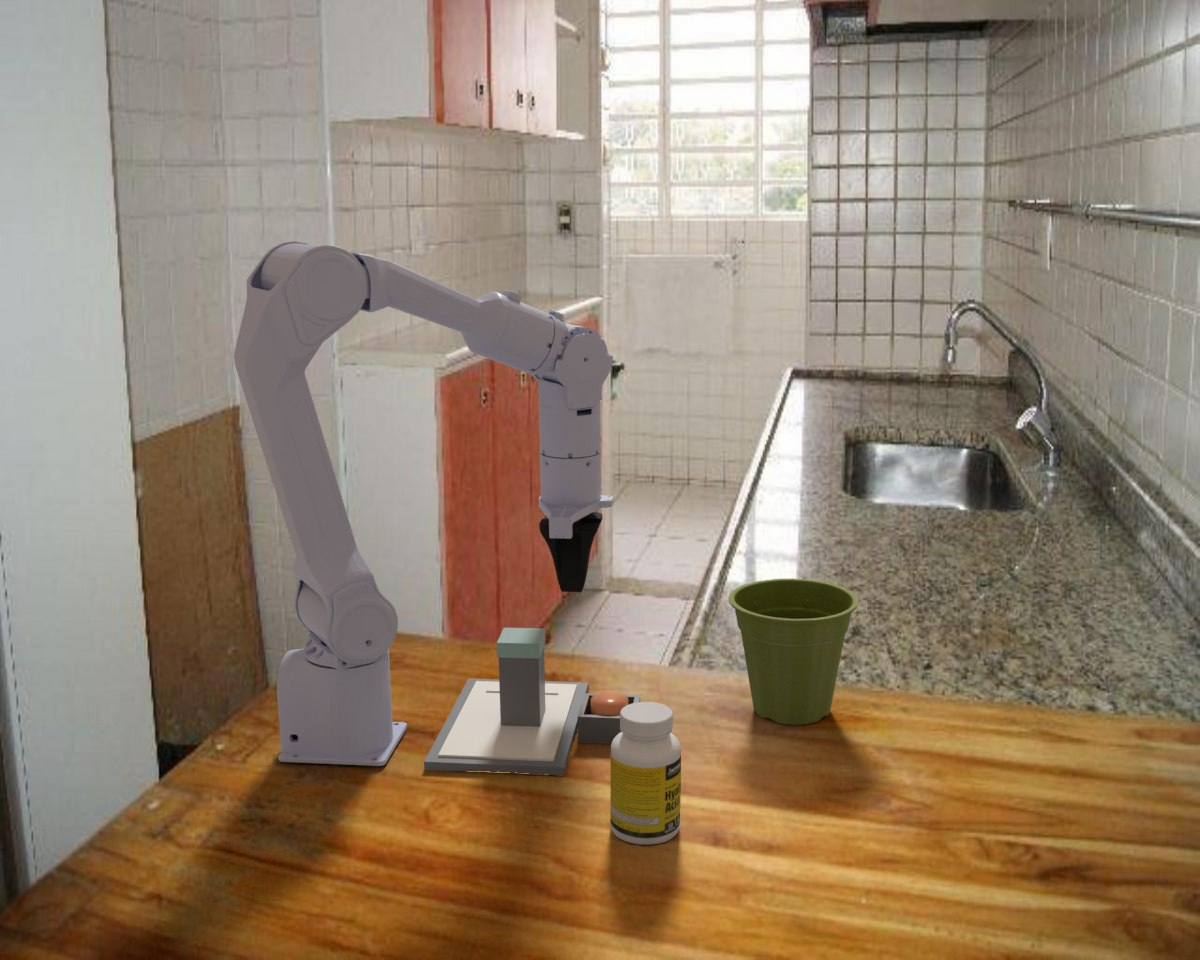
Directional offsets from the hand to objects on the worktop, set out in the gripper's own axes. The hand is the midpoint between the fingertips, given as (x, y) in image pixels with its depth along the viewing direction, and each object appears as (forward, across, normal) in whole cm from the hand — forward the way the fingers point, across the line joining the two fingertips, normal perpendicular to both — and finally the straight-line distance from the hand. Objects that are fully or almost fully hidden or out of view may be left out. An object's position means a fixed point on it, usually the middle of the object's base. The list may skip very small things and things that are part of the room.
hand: (572, 589), depth 119 cm
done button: (+9, -9, -4) cm, 14 cm away
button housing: (+10, -9, -4) cm, 14 cm away
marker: (+9, -9, +4) cm, 13 cm away
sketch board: (+10, -9, +4) cm, 14 cm away
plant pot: (+11, -3, -21) cm, 24 cm away
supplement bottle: (+11, -26, -9) cm, 29 cm away
